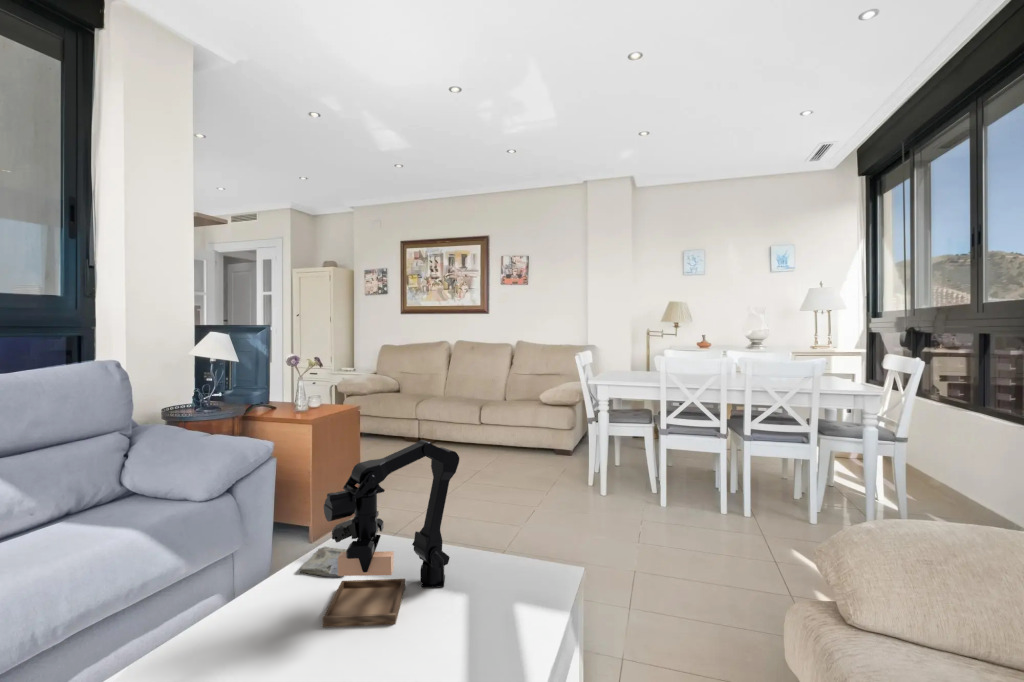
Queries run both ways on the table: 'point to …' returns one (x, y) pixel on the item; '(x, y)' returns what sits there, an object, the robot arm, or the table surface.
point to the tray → (365, 603)
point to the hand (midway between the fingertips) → (366, 568)
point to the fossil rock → (323, 562)
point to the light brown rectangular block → (378, 566)
